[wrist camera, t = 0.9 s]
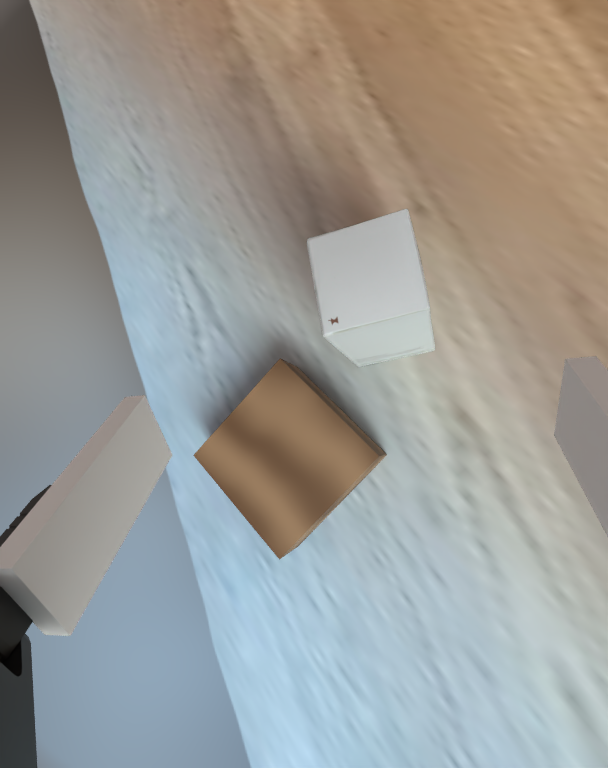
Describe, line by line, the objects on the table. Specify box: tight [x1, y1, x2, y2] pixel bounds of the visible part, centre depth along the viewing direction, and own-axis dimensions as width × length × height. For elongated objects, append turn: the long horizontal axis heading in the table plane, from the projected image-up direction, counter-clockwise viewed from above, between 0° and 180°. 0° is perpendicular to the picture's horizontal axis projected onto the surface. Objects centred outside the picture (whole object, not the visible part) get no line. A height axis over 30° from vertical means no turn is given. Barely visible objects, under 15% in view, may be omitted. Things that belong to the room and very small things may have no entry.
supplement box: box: [307, 209, 435, 367], centre depth 35 cm, size 7×7×13 cm
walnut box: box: [194, 359, 387, 559], centre depth 40 cm, size 12×12×5 cm
